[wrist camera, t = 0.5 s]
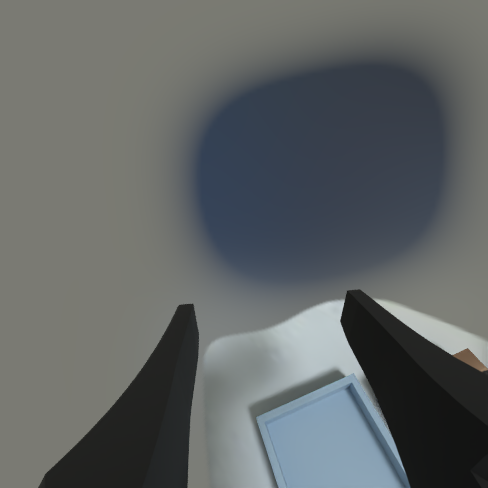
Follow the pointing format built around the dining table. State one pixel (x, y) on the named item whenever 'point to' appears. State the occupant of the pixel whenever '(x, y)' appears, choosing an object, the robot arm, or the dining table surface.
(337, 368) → the dining table surface
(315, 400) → the slate-blue tray
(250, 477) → the dining table surface
